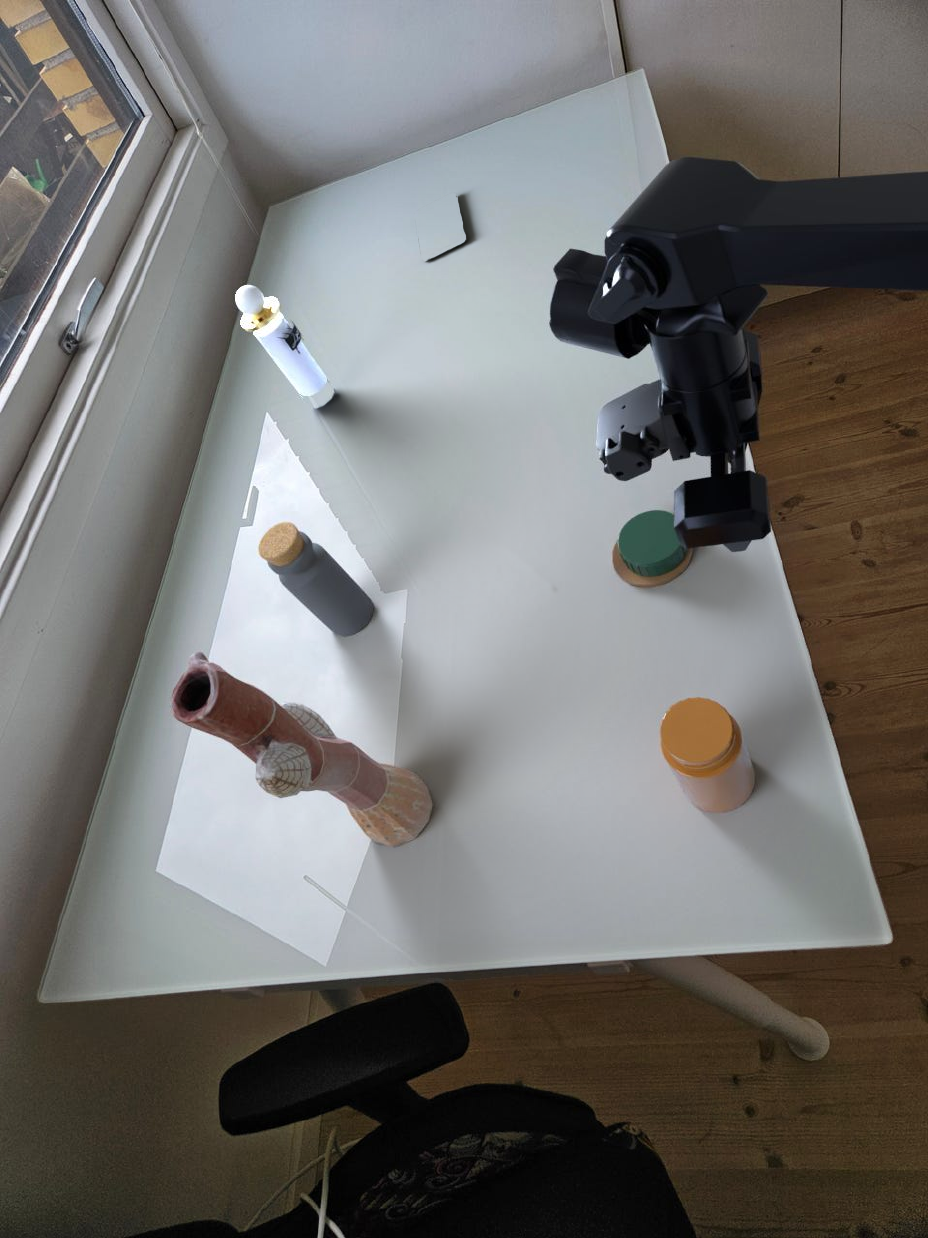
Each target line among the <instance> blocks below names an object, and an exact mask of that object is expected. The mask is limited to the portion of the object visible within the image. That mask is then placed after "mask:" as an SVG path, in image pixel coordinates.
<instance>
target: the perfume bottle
mask: <svg viewBox="0 0 928 1238" xmlns="http://www.w3.org/2000/svg"><path fill="white" fill-rule="evenodd" d="M235 293H236V294H235V304H236V307H237V308H238V309H239V311H240V312H241V313H242V314H243V315H242V317H241V320H240V325H241V327H242V328H243V329H244V331H246V332H248V333H252V332H253V335H254V337H256V339H257V340H258V342H259V343H260V345H262V347H263V348H264V350H265V351H266V352H267V353H268V354H269V356H270V357H271V358H272V360H273V361H274V363H275V364H276V365H277V367H278V368H279V369H280V370H281V372H282V373H283V374H284V376H285V377H286V379H288V380H289V382H290V383H291V385H292V386H293V387H294V389H295V390H296V391H297V392H298V394H299V395H300V394H301V395H303V396H311V395H314V394H315V393H317V392H319V391H320V390H321V389H322V388H323V387H324V385H325V384H326V382H327V378H328V377H327V375H326V374H325V373H324V371H323V369H321V367H320V366H319V364H318V363H317V361H316V360H315V358H314V357H313V355H312V354H311V353H310V351H309V350H308V349H307V347H306V346H305V344H304V343H303V342H305V339H304V338H303V335H302V333H301V332H300V330H299V329H298V326H297V325H296V324H295V323H294V322H293V320H290V322H291V324H292V326H293V327H292V326H291V325H290V324H289V322H288V321H287V320H286V318H285V317H284V315H283V314H282V313H281V312H280V311H281V304H280V301H278V298H276V297H274V296H269V297H265V296H264V294H263V292H262V291H261V289H259V288H258V287H257V286H255V285H251V284H246V285H243V286H240V287H239V288H238V290H237V291H236V292H235ZM302 341H303V342H302ZM326 377H327V378H326ZM301 395H300V396H301Z"/></svg>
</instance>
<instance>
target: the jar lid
mask: <svg viewBox="0 0 928 1238" xmlns="http://www.w3.org/2000/svg"><path fill="white" fill-rule="evenodd" d="M617 540H618V548H619V550H620V555H621V557H622V559H623V562H624V563H625V564H626V566H627V568H628V569H630V570H631V571H632V572H633V573H636V574H638V575H641V576H646V577H655V576H661V575H663V574H666V573H668V572H670V571H672V570H674V569H675V568H676V567H677V566H679V565H680V563H682V561H683V560H684V558H685V556H686V554H687V551H688V549H686V548H685V547H683V546H682V545H681V544H679V542H678V539H677V536H676V533H675V530H674V513H672V512H669V511H667V510H662V509H653V510H647V511H644V512H640V513H638V514H636V515H635V516H632V517H631V518H630V519H629V520H627V522H626V523H625V524H624V525H623V527H622V528H621V529H620V531H619V533H618V538H617Z"/></svg>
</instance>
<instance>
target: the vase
mask: <svg viewBox="0 0 928 1238" xmlns="http://www.w3.org/2000/svg"><path fill="white" fill-rule="evenodd" d="M169 707H170V710H171V713H172V716H173V717H174V718H175V719H176V720H177V721H178V722H180V723H182V724H184V725H186V726H187V727H190V728H192V729H195V730H198V731H200V732H203V733H206V734H209V735H211V736H214V737H216V738H219V739H221V740H224V741H226V742H228V743H229V744H231V745H232V746H233V747H235V748H236V749H237V750H239V751H240V752H241V753H242V754H243V755H244V756H245V757H247V758H248V759H250V761H252V762H253V763H254V764H255V780H256V782H257V784H258V785H259V787H260V788H261V789H262V790H263V791H265V792H266V793H267V794H269V795H272V796H275V797H277V798H279V799H284V798H289V797H293V796H298V794H299V793H301V792H308V793H309V792H314V791H320V792H327V793H328V794H329V795H331V796H332V797H334V798H336V799H337V800H339V801H341V802H342V803H344V804H345V805H346V808H347V810H348V812H349V814H350V816H351V817H352V818H353V820H354V821H355V823H356V824H357V825H358V826H359V828H360V829H361V831H362V832H363V833H364V834H365V836H366V837H367V838H369V839H370V840H371V841H372V842H373V843H374V844H376V845H379V846H384V847H385V846H386V847H389V848H396V847H399V846H401V845H403V844H404V845H405V844H406V843H408V842H410V841H413V840H415V839H416V838H417V837H418V836H419V835H420V833H421V832H422V831H423V829H424V828H425V827H426V826H427V824H428V823H429V821H430V818H431V815H432V810H433V806H434V804H433V800H432V797H431V793H430V790H429V787H428V786H427V785H426V783H425V782H424V781H423V779H422V778H421V777H420V776H418V775H417V774H416V773H415V772H413V771H411V770H408V769H405V768H403V767H399V766H395V765H391V764H387V763H380V762H378V761H376V760H375V759H373V758H372V757H371V756H369V755H368V754H367V753H366V752H364V751H363V749H361V748H360V747H358V746H357V745H356V744H355V743H353V742H351V741H348V740H345V739H342V738H339V737H337V736H336V734H335V733H334V731H333V730H332V728H331V727H330V725H329V724H328V723H327V722H326V721H325V720H324V718H323V717H322V716H321V715H320V714H319V713H317V712H316V711H315V710H313V709H312V708H310V707H308V706H306V705H305V704H302V703H298V702H292V701H287V702H282V703H280V704H279V702H277V701H276V700H275V699H274V698H273V697H271V696H270V695H269V694H268V693H266V692H265V691H264V690H262V689H260V688H258V687H257V686H255V685H253V684H250V683H248V682H245V681H243V680H240V679H239V678H236V677H234V676H233V675H232V674H230V673H228V671H226V670H225V669H224V668H223V667H222V666H221V665H219V664H217V663H214V662H210V661H209V659H208V658H207V656H206V655H205V654H204V652H202V651H197V652H194V653H192V654H191V655H190V656H189V661H188V665H187V668H186V669H185V671H184V672H183V674H182V675H181V677H180V678H179V680H178V681H177V683H176V684H175V686H174V688H173V690H172V694H171V697H170V701H169Z"/></svg>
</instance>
